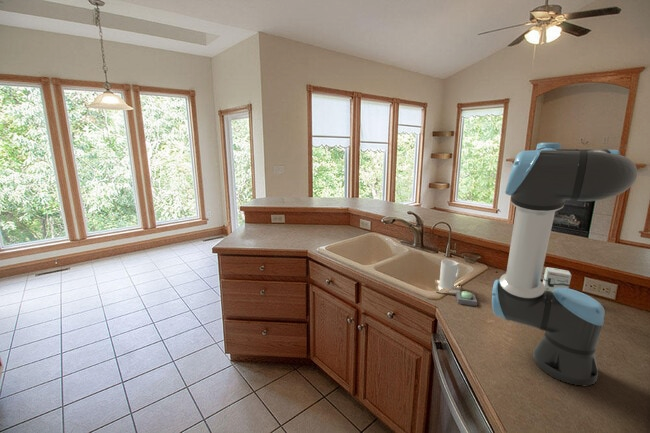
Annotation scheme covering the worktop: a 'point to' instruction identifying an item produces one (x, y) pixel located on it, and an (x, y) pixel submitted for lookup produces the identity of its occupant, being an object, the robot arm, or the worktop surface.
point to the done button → (466, 295)
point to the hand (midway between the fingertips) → (531, 242)
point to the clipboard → (452, 292)
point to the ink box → (556, 279)
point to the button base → (466, 301)
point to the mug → (448, 273)
